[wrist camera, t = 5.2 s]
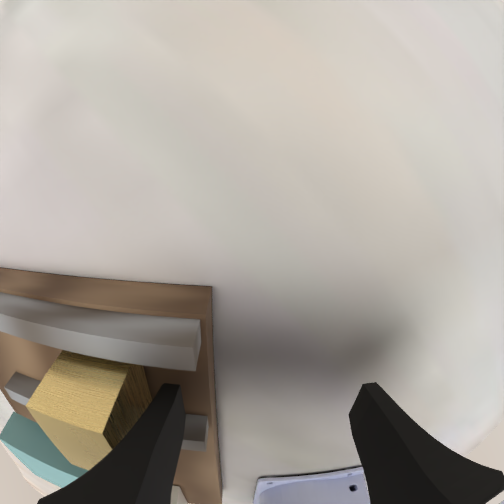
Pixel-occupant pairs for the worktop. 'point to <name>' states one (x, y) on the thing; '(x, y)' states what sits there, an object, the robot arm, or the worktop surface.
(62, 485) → the teal button
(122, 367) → the brass slider
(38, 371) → the panel
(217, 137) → the worktop surface
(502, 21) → the worktop surface
